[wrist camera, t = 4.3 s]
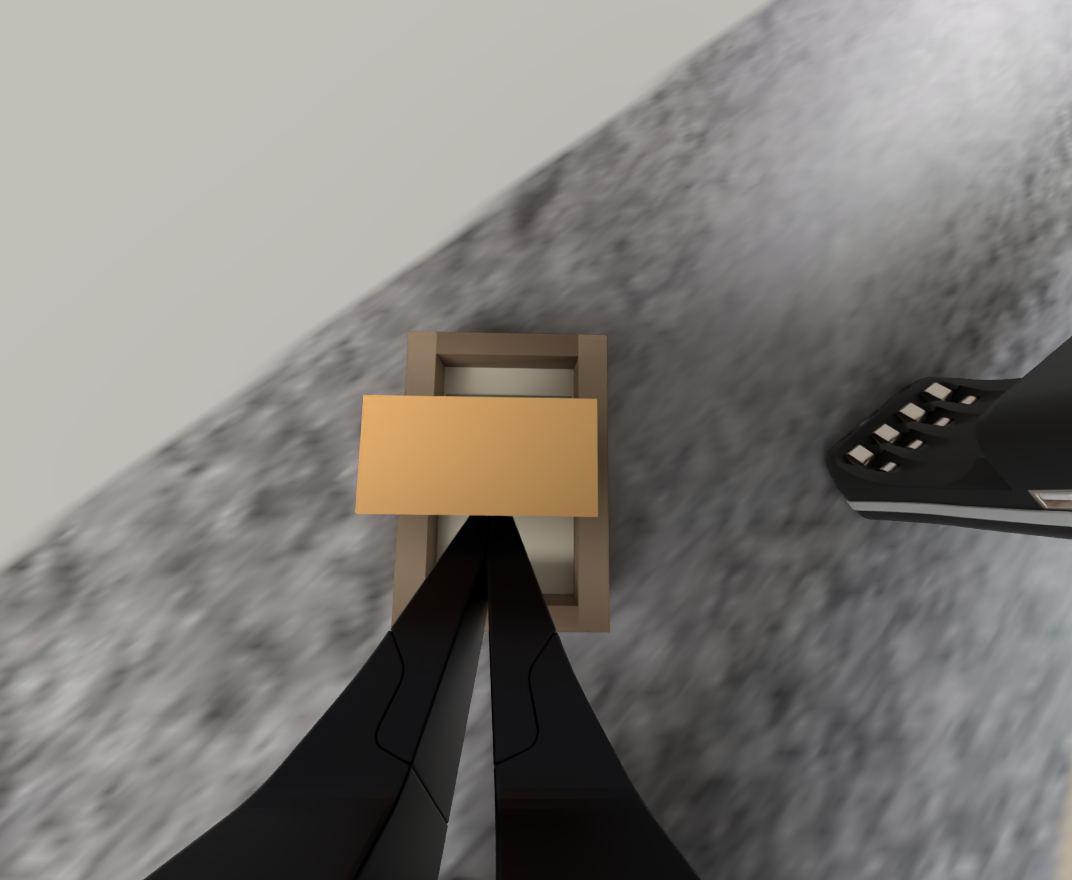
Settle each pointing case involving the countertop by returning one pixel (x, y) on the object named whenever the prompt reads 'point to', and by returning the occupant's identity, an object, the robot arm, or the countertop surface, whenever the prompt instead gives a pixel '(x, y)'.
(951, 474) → the battery charger
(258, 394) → the countertop surface
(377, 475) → the fader lever
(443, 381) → the tray
